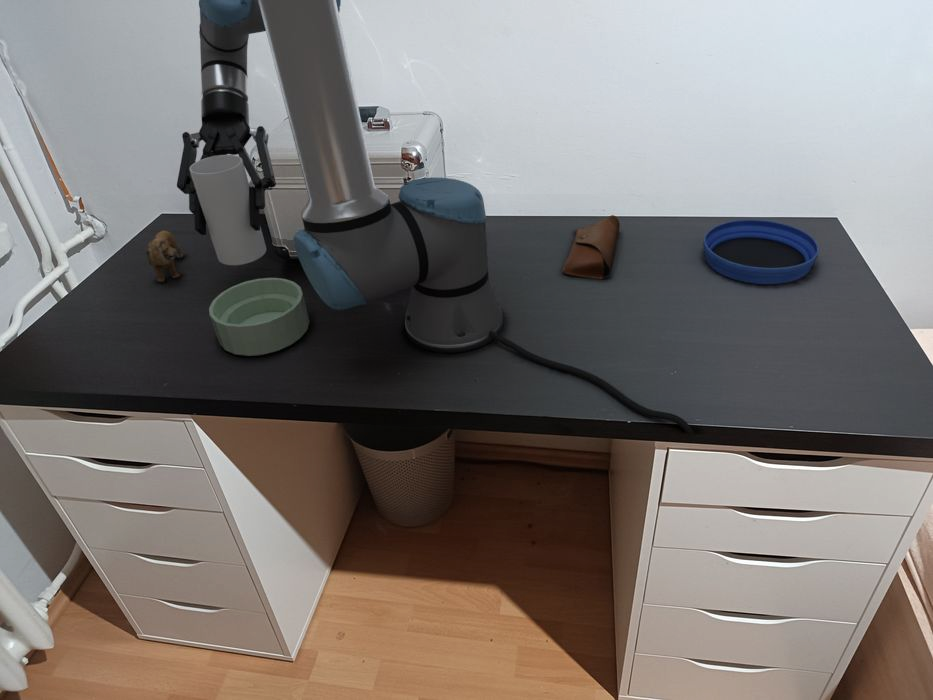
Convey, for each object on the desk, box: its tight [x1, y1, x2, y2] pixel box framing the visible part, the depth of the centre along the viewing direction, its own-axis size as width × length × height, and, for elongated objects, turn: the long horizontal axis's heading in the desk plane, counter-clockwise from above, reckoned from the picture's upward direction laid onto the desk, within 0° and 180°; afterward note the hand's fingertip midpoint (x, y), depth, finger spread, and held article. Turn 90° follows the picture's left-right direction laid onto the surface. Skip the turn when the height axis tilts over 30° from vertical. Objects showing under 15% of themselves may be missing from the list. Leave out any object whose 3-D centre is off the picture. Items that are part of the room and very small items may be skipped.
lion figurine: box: [145, 230, 184, 283], centre depth 127 cm, size 15×5×9 cm, turn 22°
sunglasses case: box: [561, 214, 621, 280], centre depth 122 cm, size 18×7×7 cm
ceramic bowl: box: [208, 277, 310, 357], centre depth 108 cm, size 14×14×6 cm
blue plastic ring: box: [702, 219, 819, 285], centre depth 116 cm, size 18×18×4 cm
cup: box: [190, 154, 267, 266], centre depth 113 cm, size 8×8×16 cm
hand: (227, 229), depth 111 cm, fingers closed on cup, 8 cm apart
